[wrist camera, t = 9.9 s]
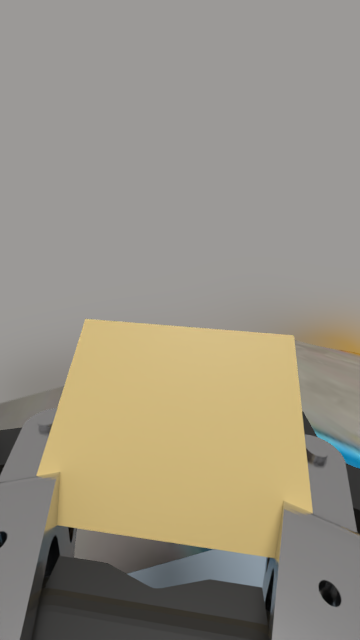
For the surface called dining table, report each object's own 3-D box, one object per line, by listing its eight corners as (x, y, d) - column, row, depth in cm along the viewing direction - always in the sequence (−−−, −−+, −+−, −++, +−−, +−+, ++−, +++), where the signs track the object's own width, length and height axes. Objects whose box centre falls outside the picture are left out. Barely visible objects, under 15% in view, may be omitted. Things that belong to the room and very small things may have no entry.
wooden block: (232, 488, 12) (318, 564, 4) (133, 475, 13) (22, 520, 4) (233, 404, 14) (293, 335, 6) (146, 394, 15) (85, 318, 6)
